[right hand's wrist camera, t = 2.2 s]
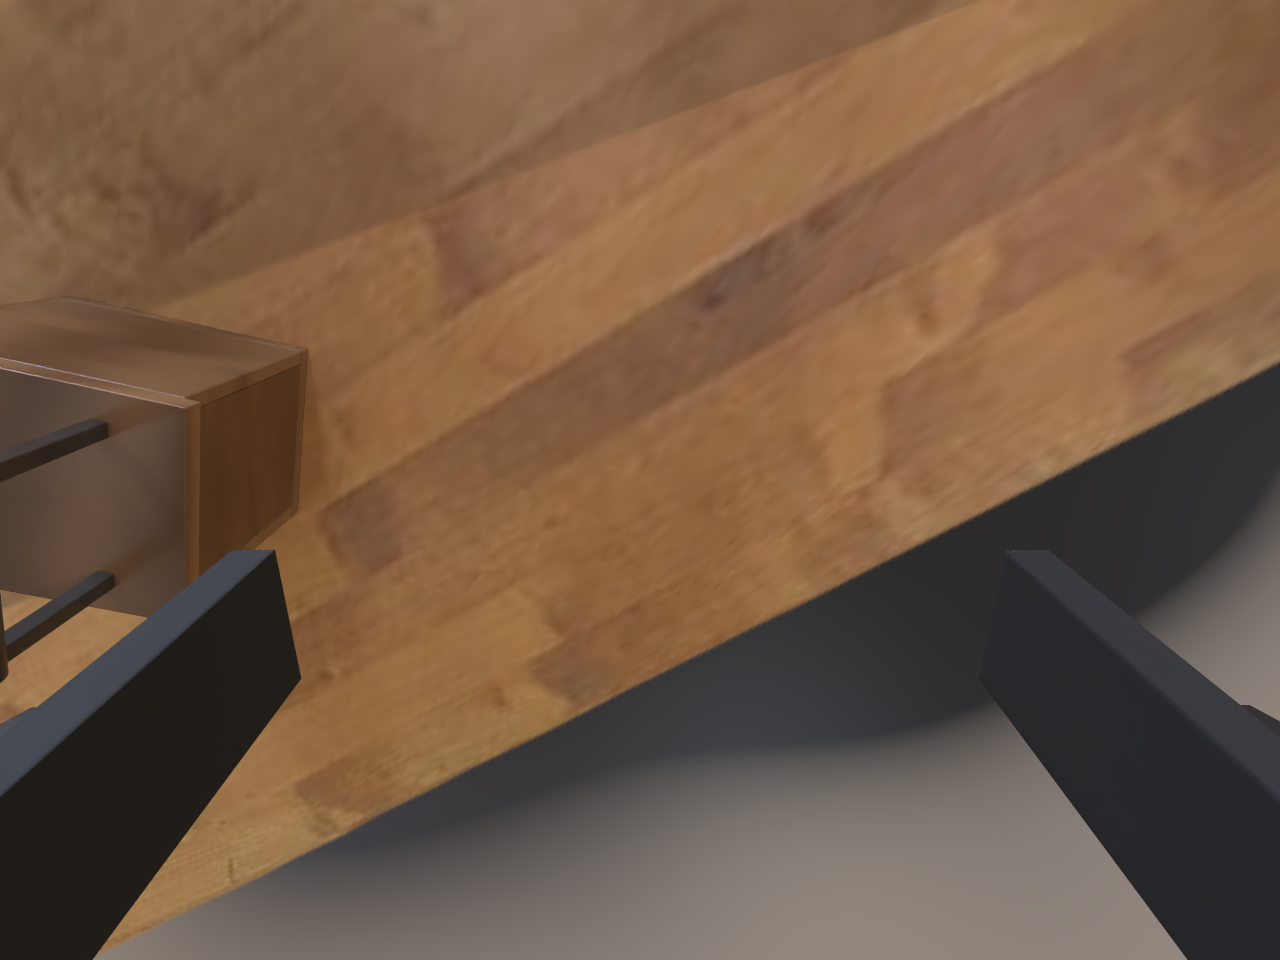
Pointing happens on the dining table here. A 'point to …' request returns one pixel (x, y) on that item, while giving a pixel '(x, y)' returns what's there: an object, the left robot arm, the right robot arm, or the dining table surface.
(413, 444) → the dining table surface
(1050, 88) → the dining table surface
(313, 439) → the dining table surface
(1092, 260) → the dining table surface
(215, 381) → the chest
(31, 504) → the lid
